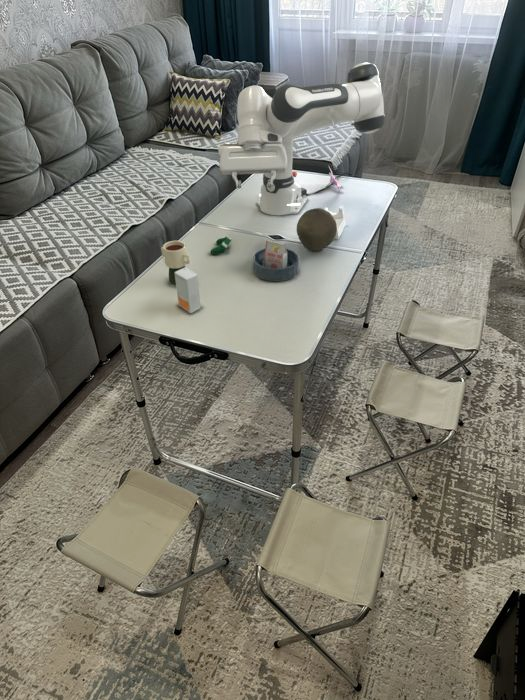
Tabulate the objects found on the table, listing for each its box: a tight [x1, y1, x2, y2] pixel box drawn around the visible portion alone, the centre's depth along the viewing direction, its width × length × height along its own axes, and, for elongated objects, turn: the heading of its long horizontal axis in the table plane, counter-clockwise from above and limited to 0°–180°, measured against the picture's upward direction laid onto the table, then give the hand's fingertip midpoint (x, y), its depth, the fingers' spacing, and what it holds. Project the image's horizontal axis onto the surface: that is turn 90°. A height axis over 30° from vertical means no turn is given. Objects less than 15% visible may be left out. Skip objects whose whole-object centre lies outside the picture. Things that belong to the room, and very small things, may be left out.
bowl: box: [252, 247, 300, 282], centre depth 170 cm, size 15×15×5 cm
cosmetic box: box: [175, 267, 202, 314], centre depth 151 cm, size 6×4×12 cm
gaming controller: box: [210, 235, 232, 255], centre depth 182 cm, size 9×4×6 cm
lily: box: [323, 166, 342, 193], centre depth 222 cm, size 12×12×10 cm
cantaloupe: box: [296, 207, 337, 252], centre depth 178 cm, size 14×14×15 cm
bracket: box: [323, 204, 347, 240], centre depth 191 cm, size 13×7×8 cm, turn 161°
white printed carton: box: [264, 239, 288, 269], centre depth 168 cm, size 4×7×10 cm, turn 65°
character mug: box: [160, 240, 191, 286], centre depth 162 cm, size 11×7×13 cm, turn 60°
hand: (254, 187), depth 151 cm, fingers open, 8 cm apart
